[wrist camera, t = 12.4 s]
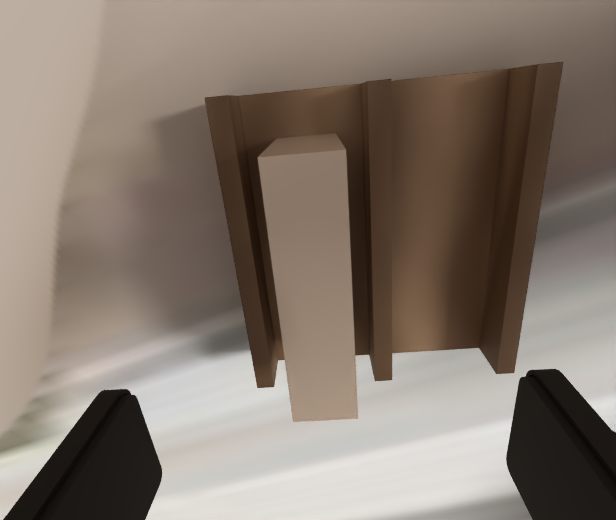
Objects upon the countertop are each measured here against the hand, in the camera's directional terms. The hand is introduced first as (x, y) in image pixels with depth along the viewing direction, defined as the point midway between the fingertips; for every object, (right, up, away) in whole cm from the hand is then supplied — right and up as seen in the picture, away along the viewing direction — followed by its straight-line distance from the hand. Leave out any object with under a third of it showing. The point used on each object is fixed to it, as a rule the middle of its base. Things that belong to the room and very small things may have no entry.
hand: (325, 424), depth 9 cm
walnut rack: (+3, +6, +13) cm, 15 cm away
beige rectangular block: (0, +5, +12) cm, 13 cm away
